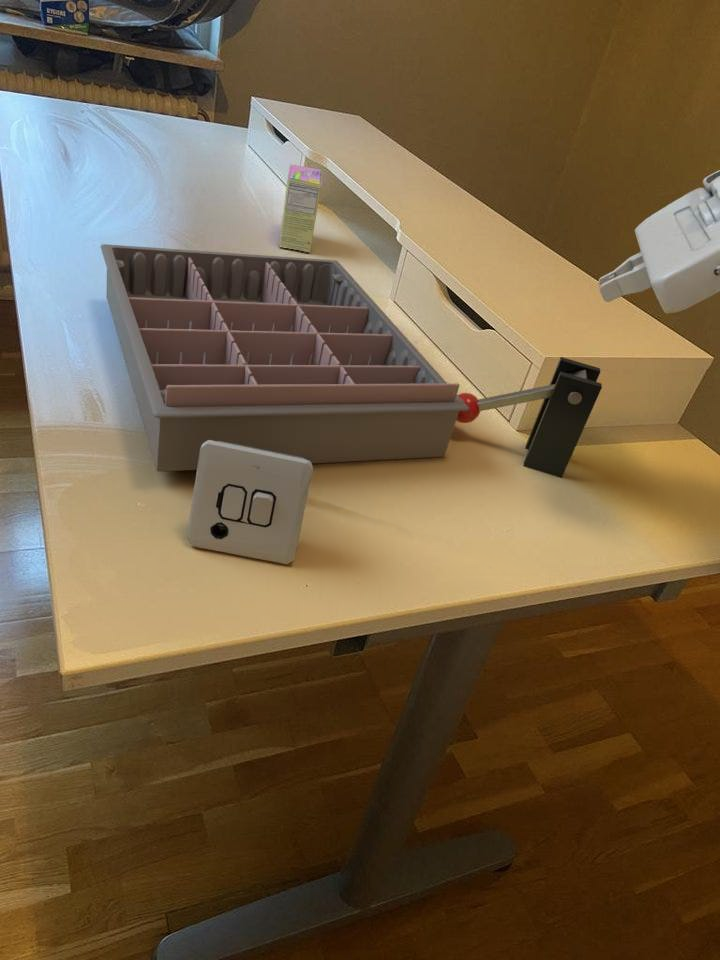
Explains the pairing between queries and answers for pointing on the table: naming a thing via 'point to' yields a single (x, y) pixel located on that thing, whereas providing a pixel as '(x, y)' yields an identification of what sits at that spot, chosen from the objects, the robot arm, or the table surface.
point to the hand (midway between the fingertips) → (601, 291)
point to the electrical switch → (248, 501)
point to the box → (300, 208)
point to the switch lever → (505, 399)
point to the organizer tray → (270, 359)
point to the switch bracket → (562, 418)
